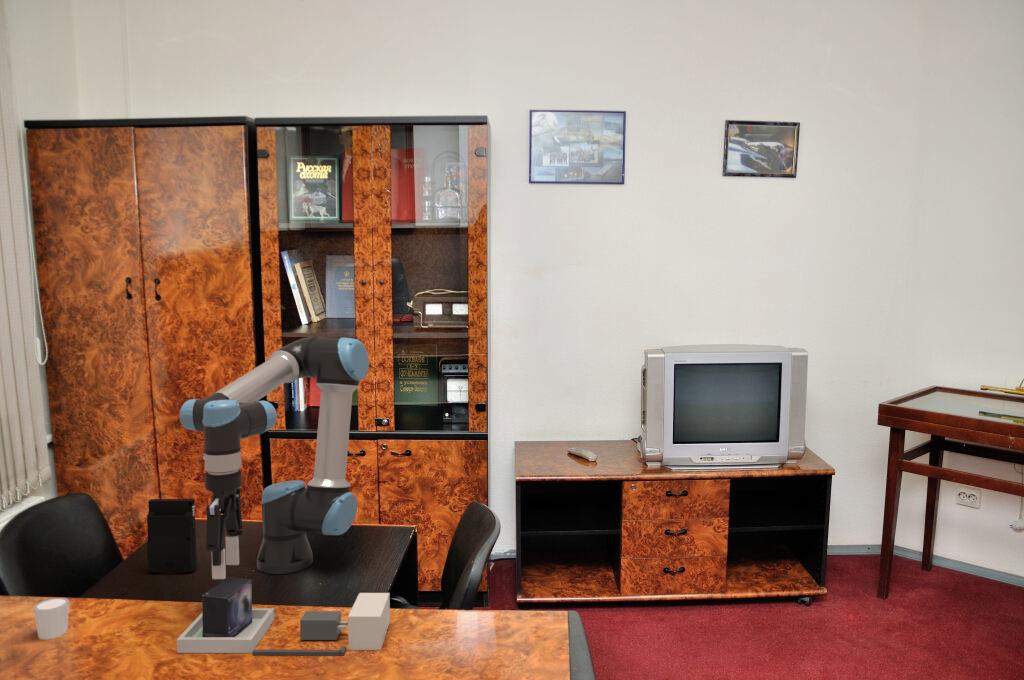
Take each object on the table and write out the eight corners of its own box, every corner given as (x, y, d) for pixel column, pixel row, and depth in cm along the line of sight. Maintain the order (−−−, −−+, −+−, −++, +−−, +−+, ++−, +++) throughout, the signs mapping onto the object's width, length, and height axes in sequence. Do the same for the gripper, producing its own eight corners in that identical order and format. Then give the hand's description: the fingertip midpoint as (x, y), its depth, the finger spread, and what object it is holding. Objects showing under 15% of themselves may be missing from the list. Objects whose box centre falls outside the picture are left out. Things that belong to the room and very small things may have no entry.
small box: (228, 644, 159) (226, 597, 158) (201, 641, 160) (199, 595, 159) (254, 622, 169) (253, 578, 168) (228, 619, 170) (227, 576, 169)
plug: (306, 630, 167) (305, 611, 166) (349, 630, 167) (348, 611, 166) (300, 639, 162) (300, 620, 162) (344, 640, 162) (344, 620, 162)
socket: (359, 623, 170) (358, 592, 170) (389, 624, 170) (389, 592, 170) (347, 649, 158) (347, 616, 158) (380, 649, 158) (380, 616, 158)
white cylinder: (33, 643, 161) (31, 613, 160) (36, 630, 167) (35, 600, 166) (69, 636, 164) (68, 606, 163) (71, 624, 170) (70, 595, 169)
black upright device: (198, 568, 203) (196, 498, 201) (191, 575, 198) (189, 503, 196) (154, 569, 202) (151, 498, 201) (146, 575, 198) (143, 503, 196)
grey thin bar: (256, 649, 158) (256, 646, 158) (346, 649, 158) (346, 646, 158) (252, 655, 156) (252, 651, 156) (343, 655, 156) (343, 652, 156)
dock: (206, 620, 172) (205, 608, 172) (274, 620, 172) (273, 608, 172) (177, 652, 157) (176, 639, 157) (251, 653, 157) (251, 639, 157)
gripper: (223, 459, 171) (226, 554, 173) (186, 483, 151) (189, 590, 153) (255, 459, 171) (258, 554, 173) (222, 483, 151) (225, 590, 153)
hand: (226, 571), depth 163 cm, fingers open, 7 cm apart
